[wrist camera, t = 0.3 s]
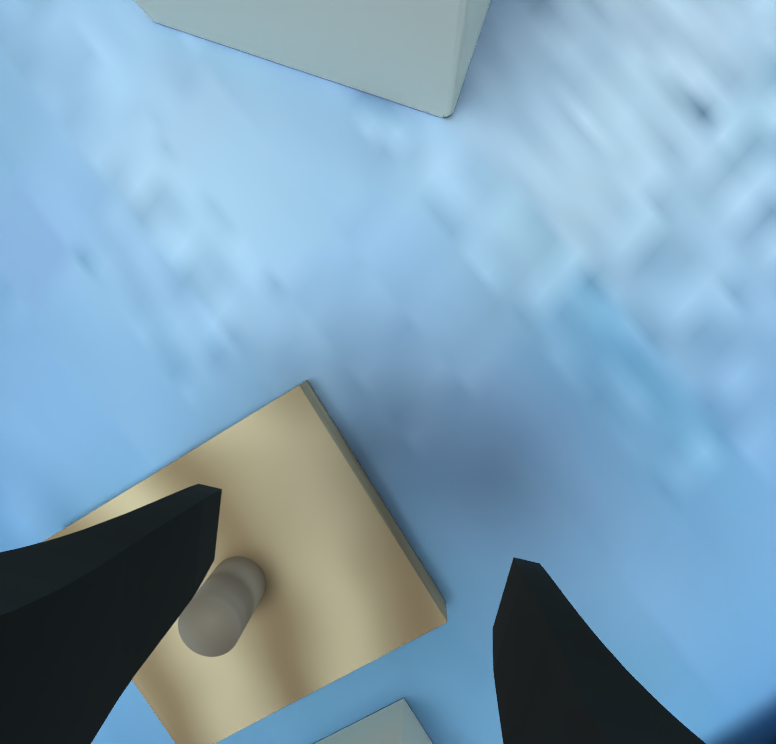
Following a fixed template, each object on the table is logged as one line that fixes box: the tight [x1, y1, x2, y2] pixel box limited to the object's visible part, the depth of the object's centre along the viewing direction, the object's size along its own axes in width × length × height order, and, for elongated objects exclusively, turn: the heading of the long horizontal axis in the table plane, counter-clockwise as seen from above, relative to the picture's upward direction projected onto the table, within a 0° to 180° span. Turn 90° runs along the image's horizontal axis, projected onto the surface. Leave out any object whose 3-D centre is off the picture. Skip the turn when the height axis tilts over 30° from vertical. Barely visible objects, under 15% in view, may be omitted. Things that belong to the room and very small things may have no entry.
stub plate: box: [43, 381, 447, 744], centre depth 21 cm, size 14×12×5 cm
